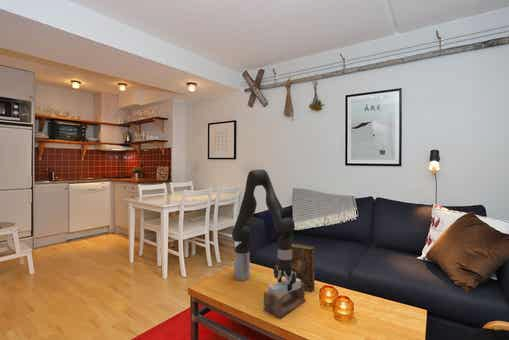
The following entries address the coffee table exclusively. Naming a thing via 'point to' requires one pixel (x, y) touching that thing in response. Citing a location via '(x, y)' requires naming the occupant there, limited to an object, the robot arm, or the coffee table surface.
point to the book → (304, 264)
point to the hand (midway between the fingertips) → (284, 288)
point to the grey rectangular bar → (283, 287)
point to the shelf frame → (284, 302)
